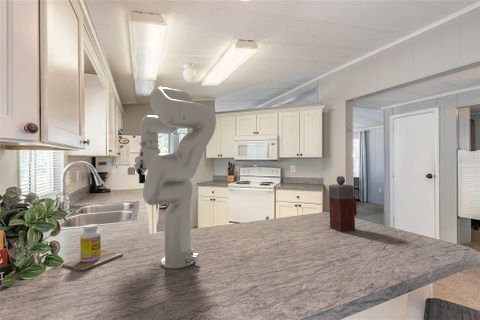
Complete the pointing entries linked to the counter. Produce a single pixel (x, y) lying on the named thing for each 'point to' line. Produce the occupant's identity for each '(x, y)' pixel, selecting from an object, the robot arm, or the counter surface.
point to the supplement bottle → (90, 243)
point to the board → (85, 266)
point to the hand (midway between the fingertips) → (150, 182)
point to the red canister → (342, 206)
